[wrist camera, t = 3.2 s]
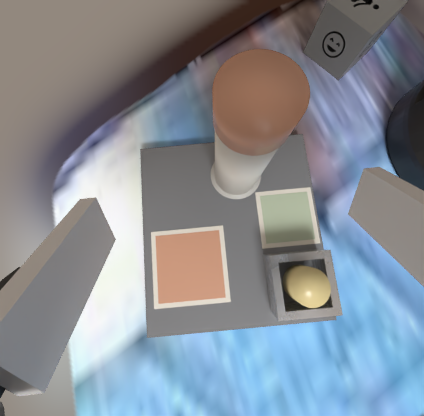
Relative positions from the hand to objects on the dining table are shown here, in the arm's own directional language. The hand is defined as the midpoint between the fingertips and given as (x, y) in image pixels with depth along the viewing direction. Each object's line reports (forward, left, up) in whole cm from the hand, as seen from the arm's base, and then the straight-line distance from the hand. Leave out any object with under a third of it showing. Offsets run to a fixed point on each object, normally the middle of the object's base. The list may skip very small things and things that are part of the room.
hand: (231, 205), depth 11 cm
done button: (-6, +5, -6) cm, 10 cm away
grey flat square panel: (-1, 0, -9) cm, 9 cm away
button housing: (-6, +5, -8) cm, 12 cm away
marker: (-2, -5, -8) cm, 10 cm away
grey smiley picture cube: (-14, -18, -10) cm, 25 cm away
